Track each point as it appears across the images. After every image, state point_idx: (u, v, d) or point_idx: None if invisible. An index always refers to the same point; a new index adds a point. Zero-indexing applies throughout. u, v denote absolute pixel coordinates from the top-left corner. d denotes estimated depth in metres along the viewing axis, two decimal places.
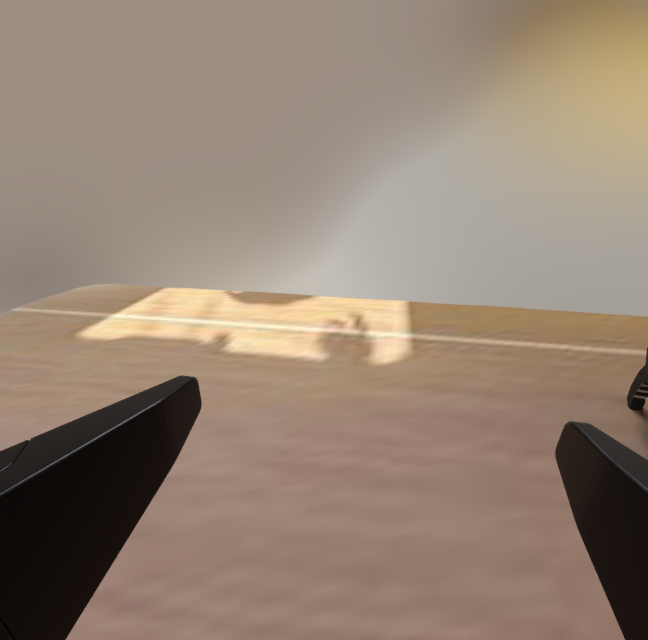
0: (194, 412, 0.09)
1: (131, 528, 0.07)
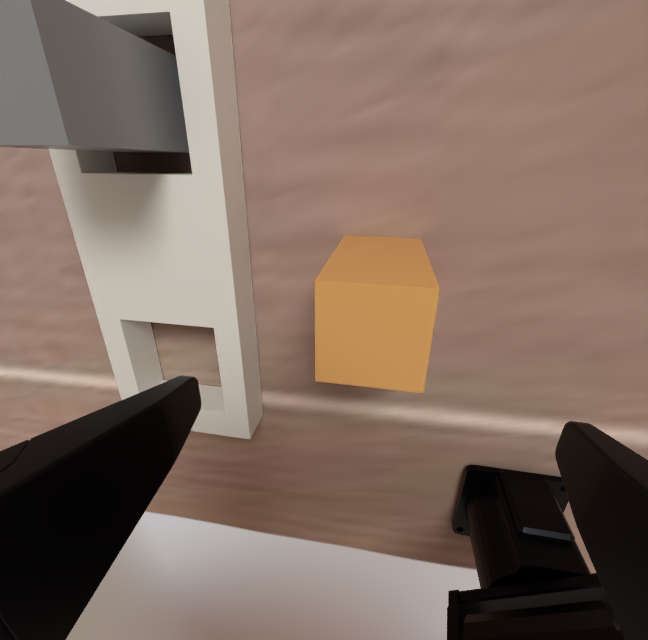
0: (194, 412, 0.09)
1: (131, 528, 0.07)
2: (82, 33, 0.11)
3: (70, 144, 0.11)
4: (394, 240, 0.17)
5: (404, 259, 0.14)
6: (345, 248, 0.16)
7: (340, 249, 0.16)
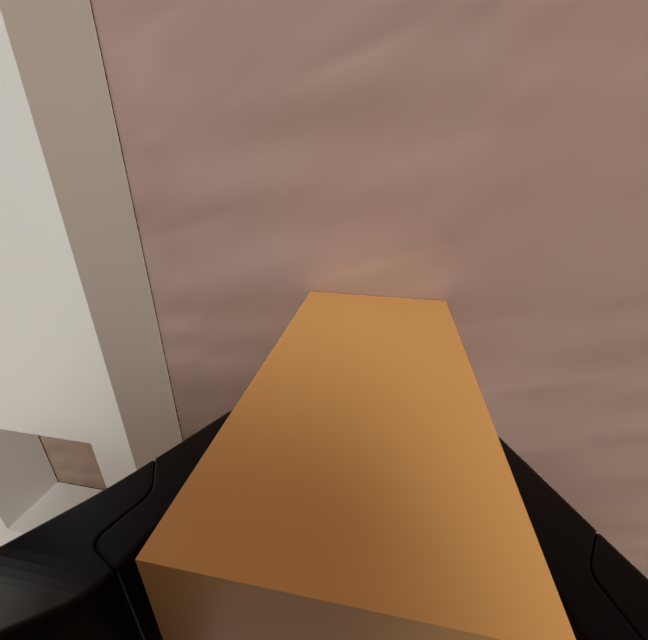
0: None
1: None
2: None
3: None
4: (398, 307, 0.09)
5: (423, 389, 0.06)
6: (298, 338, 0.08)
7: (287, 342, 0.08)
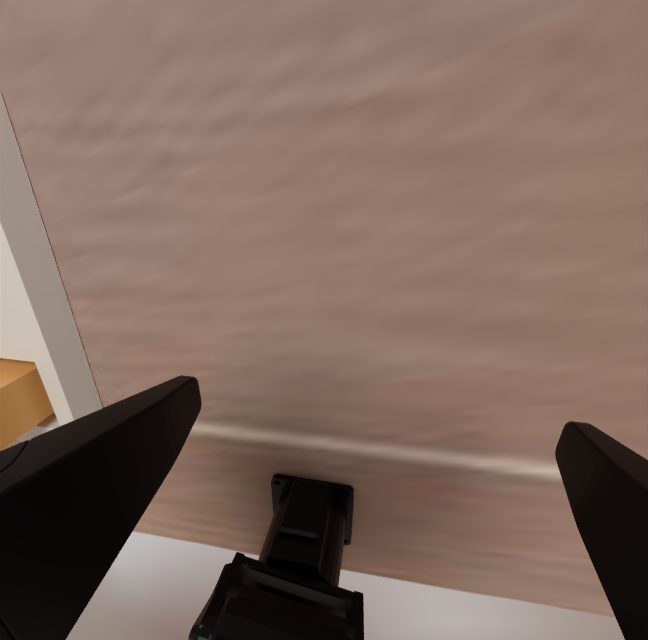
0: (194, 412, 0.09)
1: (131, 528, 0.07)
2: None
3: None
4: None
5: None
6: None
7: None
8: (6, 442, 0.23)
